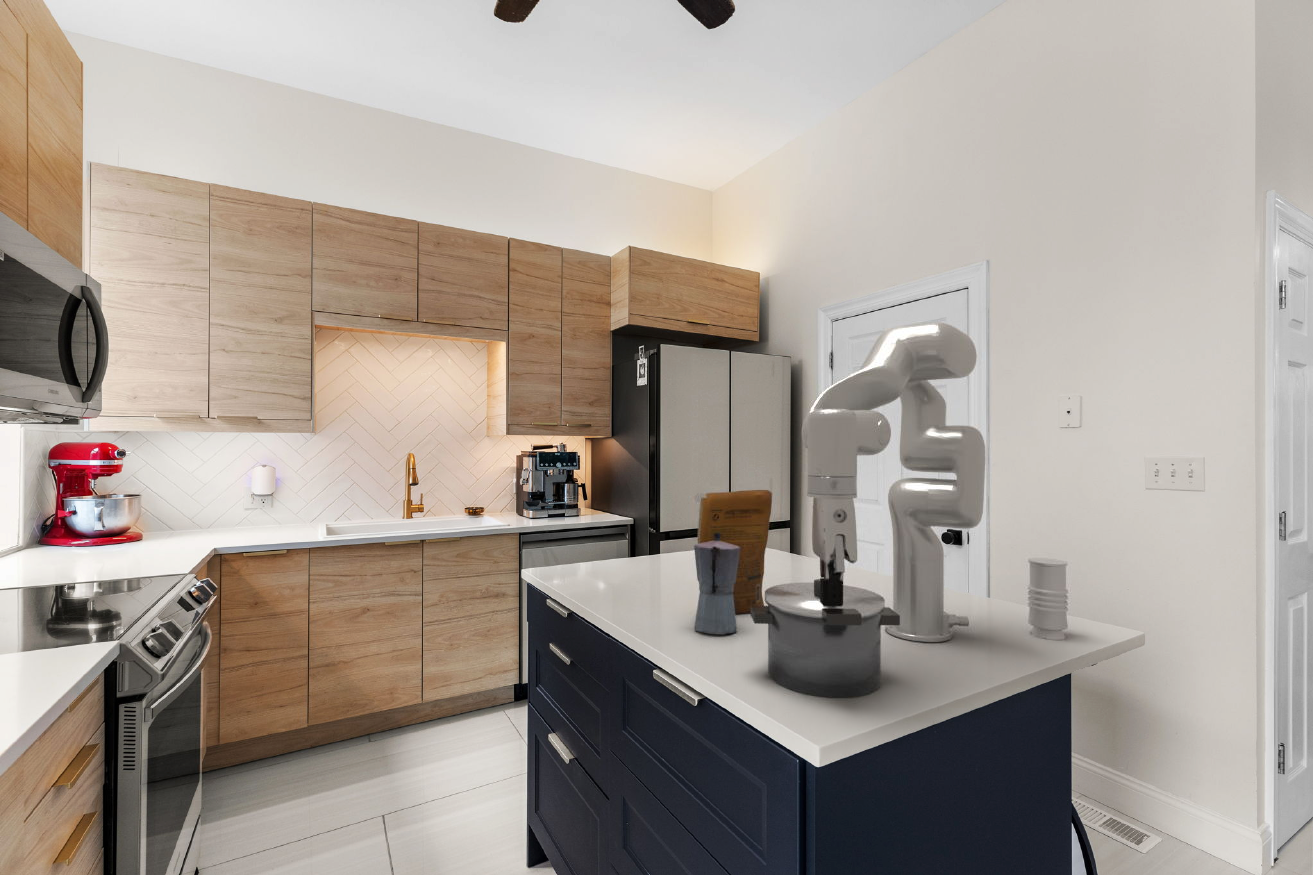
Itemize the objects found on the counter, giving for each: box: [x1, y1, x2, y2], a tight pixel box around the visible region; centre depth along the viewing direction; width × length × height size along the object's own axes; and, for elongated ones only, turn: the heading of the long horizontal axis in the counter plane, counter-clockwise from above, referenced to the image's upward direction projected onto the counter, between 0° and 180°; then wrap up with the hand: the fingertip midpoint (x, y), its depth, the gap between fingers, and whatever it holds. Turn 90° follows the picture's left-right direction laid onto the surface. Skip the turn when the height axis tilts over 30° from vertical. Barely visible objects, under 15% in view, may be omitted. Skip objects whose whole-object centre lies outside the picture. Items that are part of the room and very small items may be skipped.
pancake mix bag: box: [697, 489, 773, 615], centre depth 141 cm, size 7×19×28 cm, turn 107°
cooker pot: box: [750, 604, 900, 699], centre depth 103 cm, size 23×20×12 cm
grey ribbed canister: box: [1027, 557, 1069, 641], centre depth 125 cm, size 7×7×15 cm
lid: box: [764, 578, 886, 625], centre depth 101 cm, size 22×19×4 cm
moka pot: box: [693, 533, 740, 635], centre depth 127 cm, size 10×15×20 cm, turn 174°
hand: (831, 604), depth 97 cm, fingers closed
